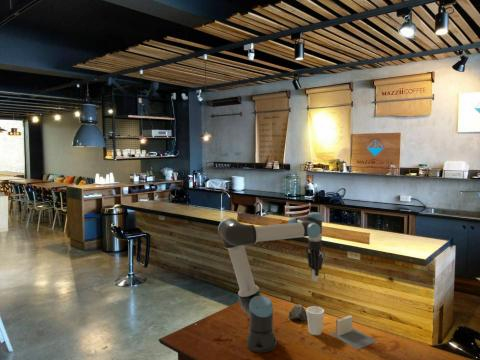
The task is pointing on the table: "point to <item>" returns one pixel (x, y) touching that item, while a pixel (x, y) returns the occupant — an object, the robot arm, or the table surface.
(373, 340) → the mat
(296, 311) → the fossil
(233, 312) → the table surface
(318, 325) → the foam cup
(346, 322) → the tile
